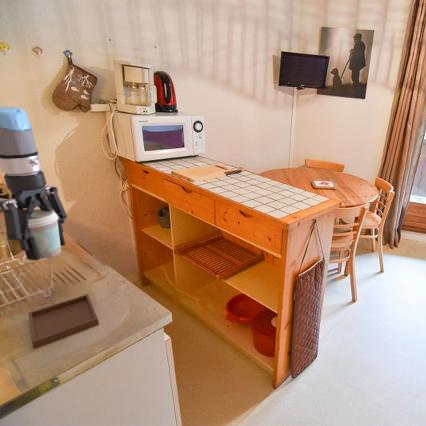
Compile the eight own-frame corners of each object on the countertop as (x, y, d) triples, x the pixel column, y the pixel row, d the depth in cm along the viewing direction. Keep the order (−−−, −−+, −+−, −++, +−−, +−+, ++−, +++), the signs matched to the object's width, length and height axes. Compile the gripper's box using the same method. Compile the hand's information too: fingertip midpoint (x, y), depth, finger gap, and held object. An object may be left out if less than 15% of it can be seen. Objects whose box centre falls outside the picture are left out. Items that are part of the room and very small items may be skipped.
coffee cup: (20, 256, 86) (6, 216, 81) (54, 243, 93) (43, 205, 89) (41, 264, 83) (28, 223, 79) (74, 250, 91) (64, 211, 86)
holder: (30, 318, 85) (28, 312, 84) (89, 299, 94) (87, 293, 93) (34, 348, 76) (32, 342, 76) (99, 324, 85) (97, 318, 84)
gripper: (-5, 186, 70) (25, 273, 78) (70, 163, 88) (88, 236, 97) (-37, 182, 70) (-4, 270, 79) (45, 161, 89) (65, 233, 98)
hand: (47, 251), depth 88 cm, fingers closed on coffee cup, 8 cm apart
